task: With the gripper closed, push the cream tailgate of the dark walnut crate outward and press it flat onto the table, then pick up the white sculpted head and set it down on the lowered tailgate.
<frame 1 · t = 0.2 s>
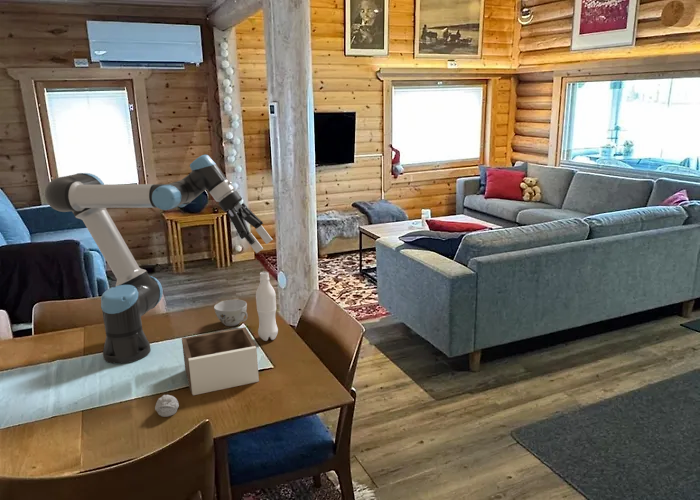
hand: (265, 246, 182), 36 cm above the table, tool tilted 35°, fingers open, 13 cm apart
crate: (221, 378, 166), on the table
white sculpted head: (168, 418, 145), on the table
tailgate: (224, 370, 156), point 7 cm above the table, hinge at 0.0°
teacup: (234, 324, 209), on the table
water bottle: (268, 338, 195), on the table
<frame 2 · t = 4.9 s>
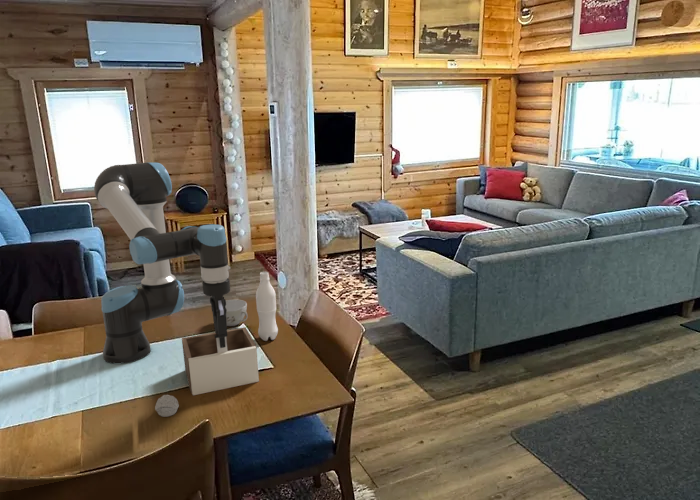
hand: (222, 355, 156), 11 cm above the table, tool pointing down, fingers closed
tailgate: (224, 370, 156), point 7 cm above the table, hinge at 0.3°, touching gripper
everything else where it was.
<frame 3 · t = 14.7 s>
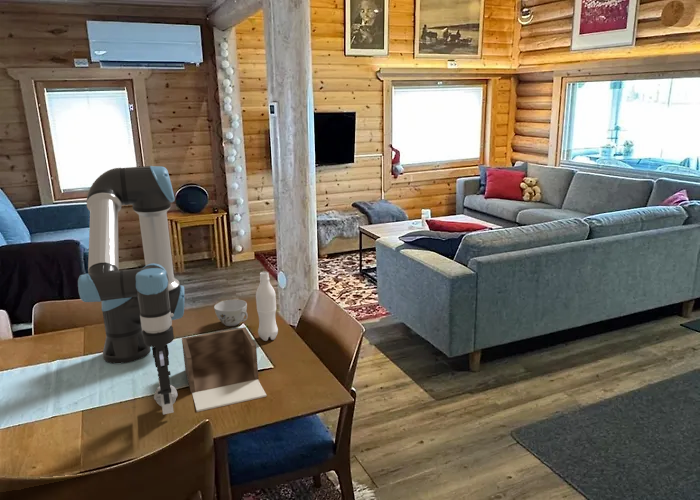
hand: (167, 405, 145), 3 cm above the table, tool pointing down, fingers closed on white sculpted head, 7 cm apart
white sculpted head: (167, 407, 145), point 3 cm above the table, touching gripper
tailgate: (229, 396, 153), point 1 cm above the table, hinge at 87.6°
everything else where it was.
when the fingers open (2 cm above the table, at t = 19.0 s): white sculpted head stays where it is, resting on tailgate.
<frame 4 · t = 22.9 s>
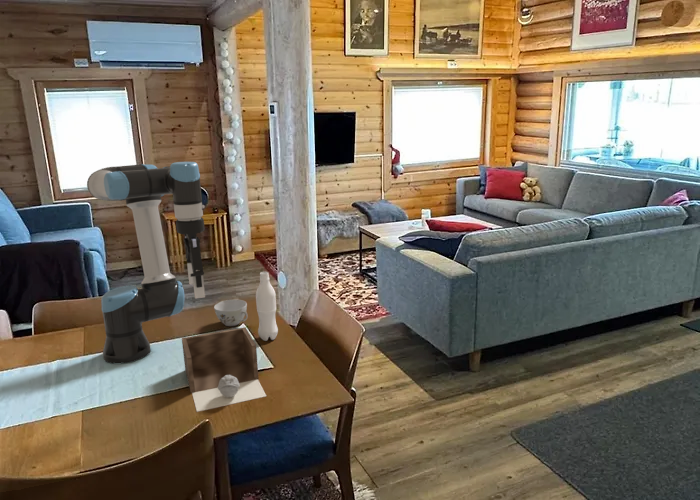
hand: (196, 290, 153), 31 cm above the table, tool pointing down, fingers open, 13 cm apart
white sculpted head: (229, 397, 152), point 1 cm above the table, touching tailgate
tailgate: (229, 396, 153), point 1 cm above the table, hinge at 89.5°, touching white sculpted head
everything else where it was.
at the end: tailgate at +90° (first picture: +0°); white sculpted head inside the target area (0.5 cm from its centre), point 1.4 cm above the table; the gripper is holding nothing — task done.
